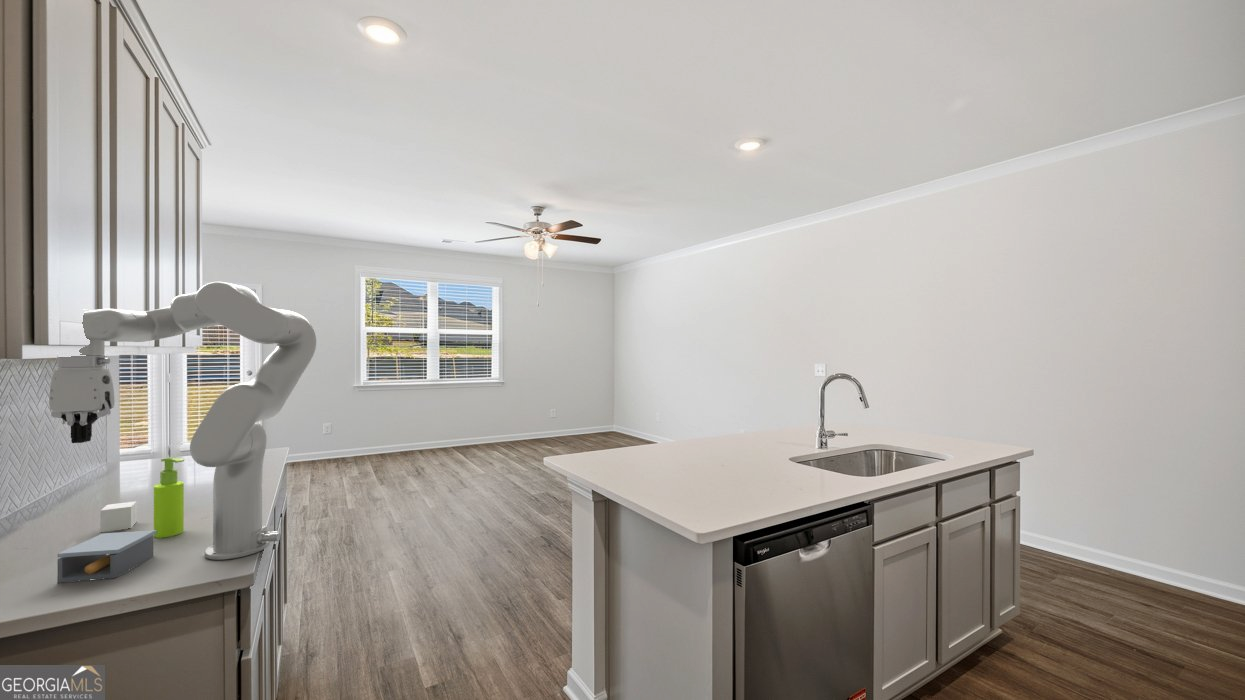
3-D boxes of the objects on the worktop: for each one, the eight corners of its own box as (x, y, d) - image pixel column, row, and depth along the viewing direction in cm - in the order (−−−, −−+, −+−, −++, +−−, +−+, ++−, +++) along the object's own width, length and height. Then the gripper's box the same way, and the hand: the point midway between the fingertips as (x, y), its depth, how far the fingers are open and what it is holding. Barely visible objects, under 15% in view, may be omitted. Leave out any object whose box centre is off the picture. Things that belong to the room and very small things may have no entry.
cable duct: (153, 556, 120) (153, 534, 120) (114, 578, 108) (114, 554, 108) (102, 559, 118) (102, 538, 118) (57, 583, 106) (57, 559, 106)
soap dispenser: (168, 539, 131) (169, 461, 131) (147, 536, 132) (147, 459, 132) (192, 531, 136) (192, 456, 136) (171, 529, 138) (171, 455, 138)
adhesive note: (136, 522, 143) (137, 501, 143) (131, 528, 138) (131, 506, 138) (107, 526, 140) (107, 504, 140) (100, 533, 135) (100, 510, 135)
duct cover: (156, 533, 120) (156, 530, 120) (118, 553, 108) (118, 549, 108) (102, 536, 118) (102, 533, 118) (57, 557, 106) (57, 553, 106)
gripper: (131, 362, 124) (131, 438, 124) (56, 362, 120) (56, 440, 120) (107, 363, 116) (107, 443, 116) (27, 363, 113) (26, 446, 113)
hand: (81, 441), depth 118 cm, fingers closed
